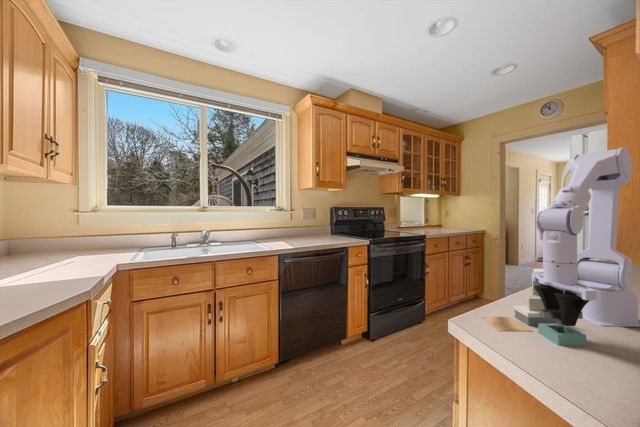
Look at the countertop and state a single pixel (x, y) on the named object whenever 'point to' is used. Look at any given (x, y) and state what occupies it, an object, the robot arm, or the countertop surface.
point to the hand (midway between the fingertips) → (560, 321)
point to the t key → (555, 317)
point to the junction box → (534, 319)
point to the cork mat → (505, 324)
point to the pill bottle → (536, 283)
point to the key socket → (562, 335)
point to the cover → (530, 307)
